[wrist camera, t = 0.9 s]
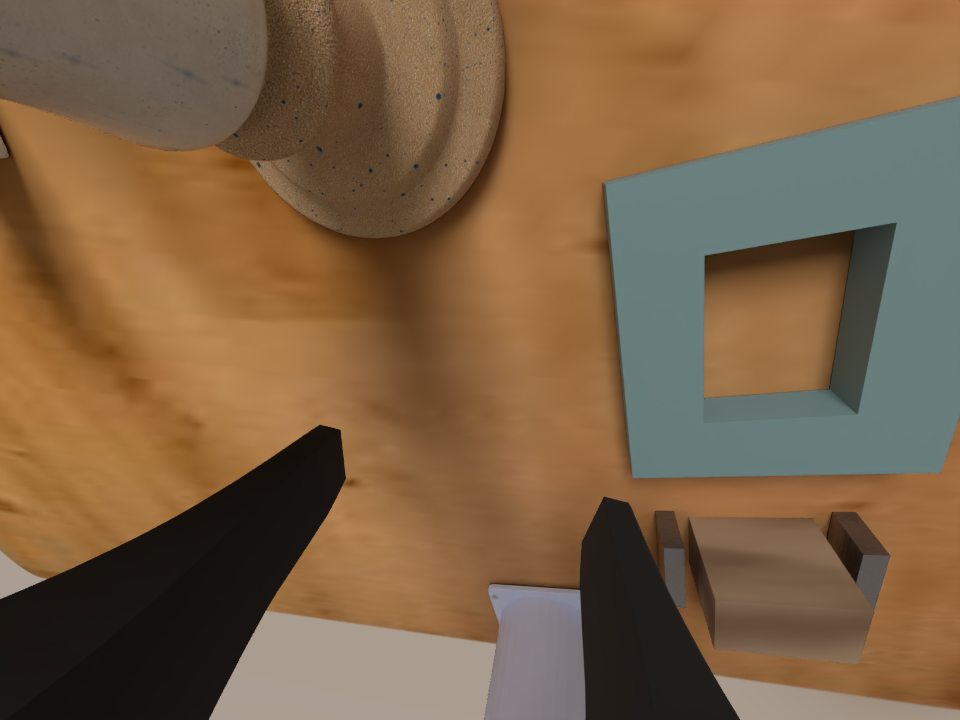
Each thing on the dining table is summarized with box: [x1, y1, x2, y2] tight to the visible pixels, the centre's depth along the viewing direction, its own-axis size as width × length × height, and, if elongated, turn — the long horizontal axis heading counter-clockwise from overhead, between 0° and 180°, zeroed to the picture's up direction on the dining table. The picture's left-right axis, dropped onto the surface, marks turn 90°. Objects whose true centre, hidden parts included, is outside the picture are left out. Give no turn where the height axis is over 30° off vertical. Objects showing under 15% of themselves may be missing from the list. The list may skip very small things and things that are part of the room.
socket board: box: [603, 96, 960, 478], centre depth 16 cm, size 14×12×2 cm
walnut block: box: [689, 517, 874, 664], centre depth 20 cm, size 4×6×5 cm, turn 104°
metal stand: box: [655, 511, 890, 610], centre depth 21 cm, size 5×10×2 cm, turn 103°
